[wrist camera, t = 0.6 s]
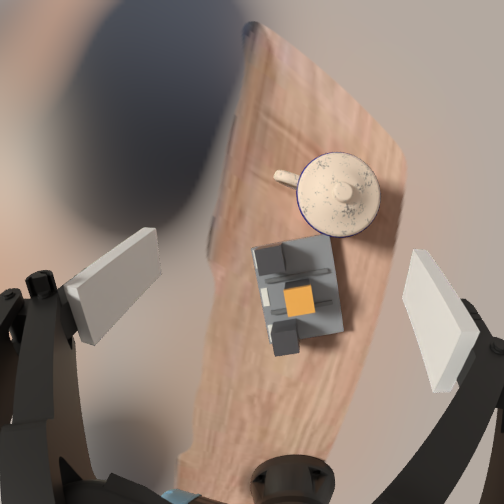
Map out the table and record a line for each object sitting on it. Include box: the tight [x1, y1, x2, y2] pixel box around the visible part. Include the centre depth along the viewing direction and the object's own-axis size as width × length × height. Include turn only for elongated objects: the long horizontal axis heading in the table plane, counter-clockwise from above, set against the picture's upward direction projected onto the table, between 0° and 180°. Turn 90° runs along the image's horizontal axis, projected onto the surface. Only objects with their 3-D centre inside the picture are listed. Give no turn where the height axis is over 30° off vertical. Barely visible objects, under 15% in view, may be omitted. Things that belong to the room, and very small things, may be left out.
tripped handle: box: [283, 278, 315, 317], centre depth 37 cm, size 3×3×5 cm
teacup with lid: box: [274, 152, 381, 238], centre depth 34 cm, size 12×9×12 cm
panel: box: [251, 234, 344, 356], centre depth 38 cm, size 13×10×6 cm
